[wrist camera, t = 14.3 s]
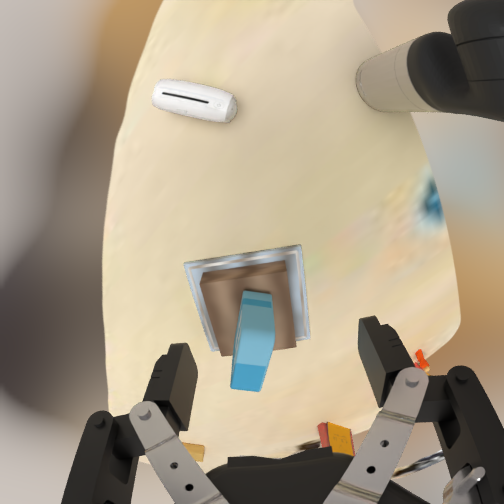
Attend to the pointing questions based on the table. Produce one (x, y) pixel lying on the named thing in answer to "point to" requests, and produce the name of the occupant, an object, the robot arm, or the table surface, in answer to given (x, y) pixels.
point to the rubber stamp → (195, 451)
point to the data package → (253, 341)
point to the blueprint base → (256, 280)
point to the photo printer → (194, 100)
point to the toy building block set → (342, 436)
